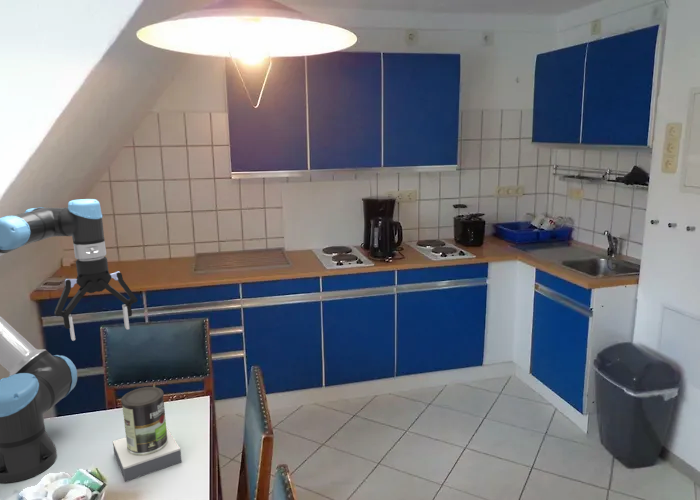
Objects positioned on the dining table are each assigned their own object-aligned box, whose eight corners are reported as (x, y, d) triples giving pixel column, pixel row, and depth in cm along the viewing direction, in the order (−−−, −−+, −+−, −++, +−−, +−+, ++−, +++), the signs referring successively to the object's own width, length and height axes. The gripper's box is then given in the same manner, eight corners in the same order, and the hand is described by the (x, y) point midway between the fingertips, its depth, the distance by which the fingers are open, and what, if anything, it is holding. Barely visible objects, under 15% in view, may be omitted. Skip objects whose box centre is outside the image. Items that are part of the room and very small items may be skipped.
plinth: (114, 454, 142) (112, 441, 141) (166, 437, 149) (165, 424, 149) (125, 481, 130) (123, 467, 130) (181, 461, 138) (180, 448, 137)
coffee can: (175, 435, 143) (170, 388, 140) (154, 457, 133) (149, 407, 130) (141, 431, 145) (136, 385, 142) (118, 453, 136) (112, 403, 132)
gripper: (38, 267, 129) (50, 348, 133) (143, 253, 142) (151, 327, 147) (35, 262, 135) (47, 339, 139) (137, 249, 148) (144, 320, 153)
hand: (100, 333), depth 143 cm, fingers open, 13 cm apart
